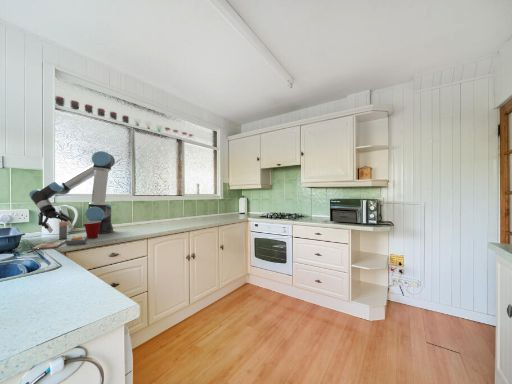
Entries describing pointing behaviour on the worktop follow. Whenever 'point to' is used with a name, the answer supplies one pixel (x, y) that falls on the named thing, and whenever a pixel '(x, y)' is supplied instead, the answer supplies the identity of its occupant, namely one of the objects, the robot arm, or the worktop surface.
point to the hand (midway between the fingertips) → (62, 230)
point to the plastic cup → (92, 228)
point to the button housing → (77, 241)
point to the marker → (62, 230)
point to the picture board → (49, 244)
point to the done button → (77, 237)
